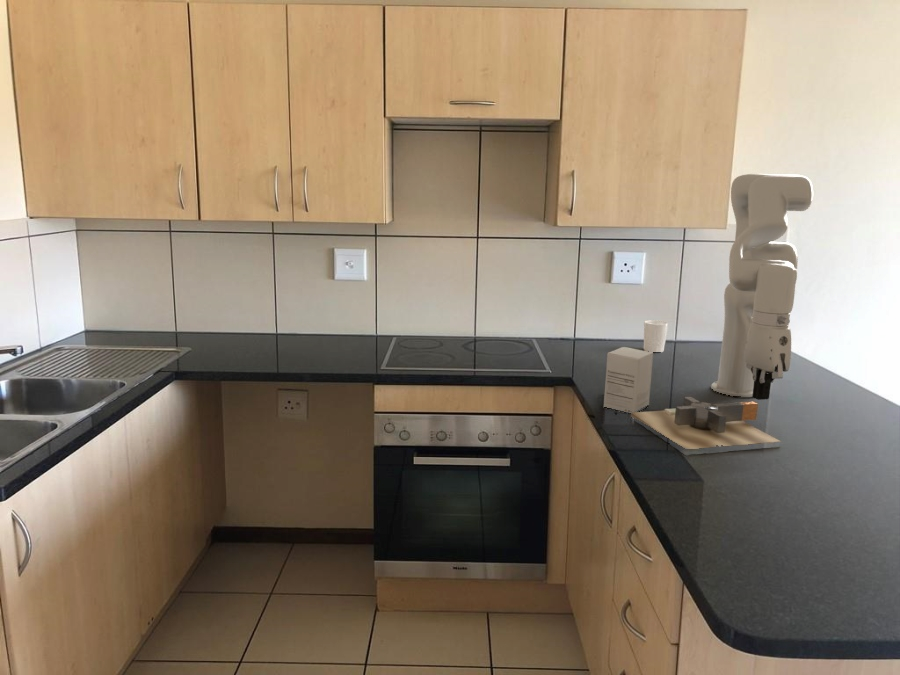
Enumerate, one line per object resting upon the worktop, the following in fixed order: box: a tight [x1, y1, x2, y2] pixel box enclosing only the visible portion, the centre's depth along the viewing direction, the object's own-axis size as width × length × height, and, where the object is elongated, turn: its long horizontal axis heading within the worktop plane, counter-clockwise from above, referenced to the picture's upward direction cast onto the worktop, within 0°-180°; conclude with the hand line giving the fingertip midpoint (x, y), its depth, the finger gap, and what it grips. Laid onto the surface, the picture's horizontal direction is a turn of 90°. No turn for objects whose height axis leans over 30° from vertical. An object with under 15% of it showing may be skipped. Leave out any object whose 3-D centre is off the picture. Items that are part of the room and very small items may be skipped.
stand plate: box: [630, 409, 782, 449], centre depth 164 cm, size 24×24×2 cm
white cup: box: [643, 319, 669, 353], centre depth 240 cm, size 8×8×10 cm
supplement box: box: [603, 346, 654, 413], centre depth 179 cm, size 9×9×15 cm
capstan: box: [674, 396, 759, 433], centre depth 164 cm, size 21×14×5 cm, turn 105°
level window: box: [664, 407, 676, 415], centre depth 173 cm, size 6×3×1 cm, turn 105°
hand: (760, 398), depth 158 cm, fingers closed
